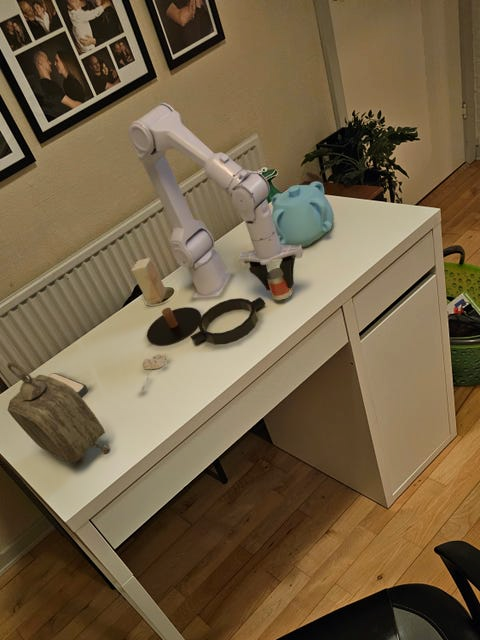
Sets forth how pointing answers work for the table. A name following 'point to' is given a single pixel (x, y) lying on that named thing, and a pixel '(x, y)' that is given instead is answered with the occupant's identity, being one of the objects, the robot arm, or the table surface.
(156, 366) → the game controller
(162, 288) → the box
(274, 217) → the decorative pot
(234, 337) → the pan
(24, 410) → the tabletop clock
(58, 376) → the phone case
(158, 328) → the pan lid
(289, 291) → the can
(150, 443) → the table surface
